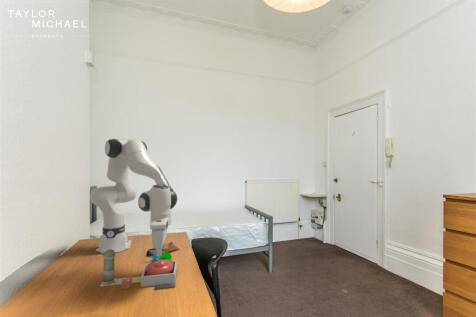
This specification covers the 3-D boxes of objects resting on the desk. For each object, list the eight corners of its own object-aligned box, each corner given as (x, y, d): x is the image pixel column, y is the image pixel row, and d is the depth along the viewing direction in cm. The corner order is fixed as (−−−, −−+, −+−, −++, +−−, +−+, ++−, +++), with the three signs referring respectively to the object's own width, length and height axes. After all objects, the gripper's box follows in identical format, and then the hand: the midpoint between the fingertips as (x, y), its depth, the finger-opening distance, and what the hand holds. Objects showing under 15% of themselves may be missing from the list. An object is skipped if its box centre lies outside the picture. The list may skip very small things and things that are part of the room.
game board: (107, 276, 102) (108, 265, 102) (177, 270, 109) (177, 259, 109) (92, 296, 87) (93, 283, 87) (175, 287, 93) (175, 275, 93)
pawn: (104, 280, 97) (105, 248, 98) (116, 279, 98) (117, 247, 98) (100, 285, 92) (101, 252, 93) (112, 284, 93) (113, 251, 94)
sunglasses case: (155, 259, 122) (151, 247, 124) (148, 263, 125) (145, 251, 127) (180, 249, 137) (177, 238, 139) (174, 252, 140) (170, 242, 142)
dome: (149, 269, 104) (149, 256, 104) (173, 267, 106) (173, 254, 106) (144, 281, 93) (144, 266, 93) (171, 278, 95) (172, 264, 96)
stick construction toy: (149, 262, 112) (151, 247, 117) (144, 267, 116) (146, 251, 121) (172, 264, 118) (173, 249, 123) (167, 268, 122) (168, 253, 127)
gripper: (156, 216, 110) (156, 244, 109) (149, 226, 90) (149, 261, 89) (170, 215, 111) (170, 243, 111) (165, 225, 91) (165, 260, 91)
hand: (160, 251), depth 100 cm, fingers open, 8 cm apart
